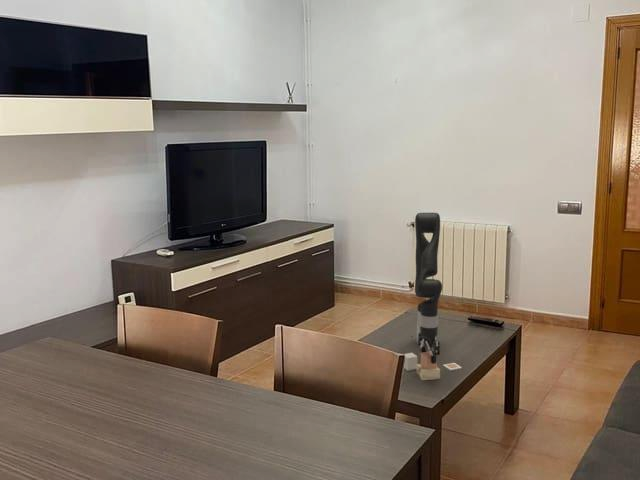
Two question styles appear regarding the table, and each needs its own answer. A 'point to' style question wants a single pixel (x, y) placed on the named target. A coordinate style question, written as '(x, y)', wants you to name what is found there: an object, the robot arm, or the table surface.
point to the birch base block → (428, 373)
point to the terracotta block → (427, 361)
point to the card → (452, 366)
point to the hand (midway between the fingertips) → (428, 359)
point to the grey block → (410, 361)
